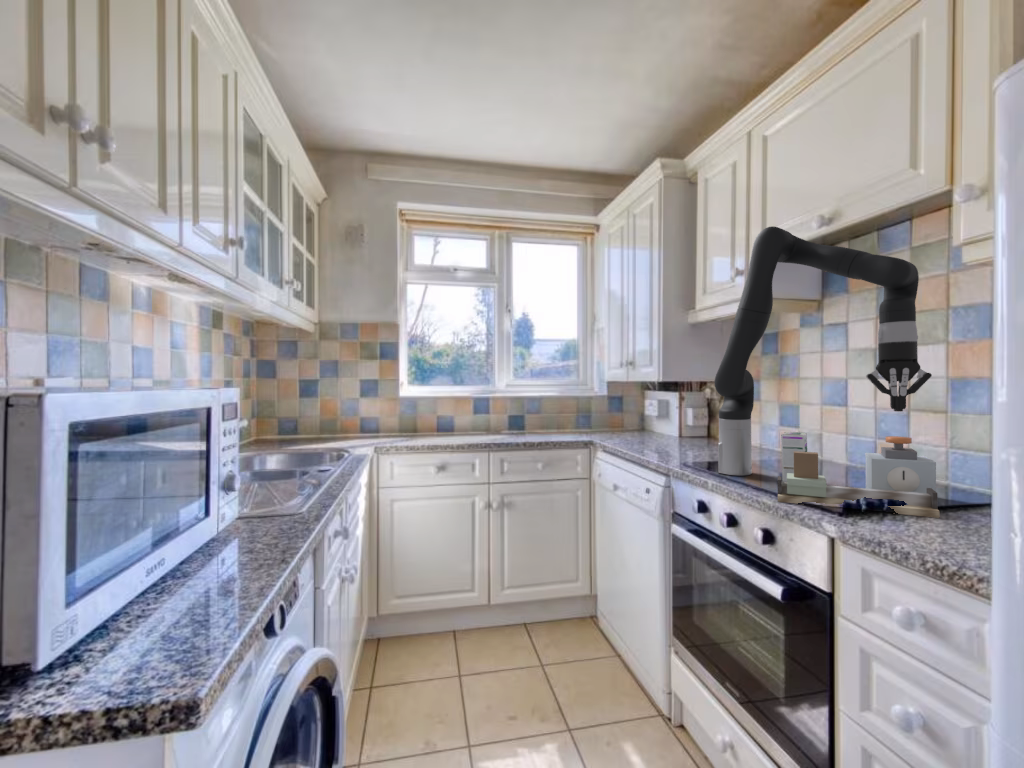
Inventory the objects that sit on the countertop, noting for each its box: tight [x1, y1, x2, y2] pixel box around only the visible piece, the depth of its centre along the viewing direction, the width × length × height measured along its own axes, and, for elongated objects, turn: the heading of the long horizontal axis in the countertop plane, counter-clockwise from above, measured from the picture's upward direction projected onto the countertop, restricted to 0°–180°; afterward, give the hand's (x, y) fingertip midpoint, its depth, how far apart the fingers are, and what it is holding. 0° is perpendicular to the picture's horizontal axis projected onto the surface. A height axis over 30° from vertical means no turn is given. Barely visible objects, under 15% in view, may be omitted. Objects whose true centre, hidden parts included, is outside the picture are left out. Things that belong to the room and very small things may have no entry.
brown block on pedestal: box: [787, 451, 827, 497], centre depth 116 cm, size 8×7×10 cm
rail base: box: [777, 475, 941, 519], centre depth 111 cm, size 30×8×5 cm, turn 60°
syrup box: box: [780, 431, 808, 482], centre depth 132 cm, size 6×6×14 cm
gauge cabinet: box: [864, 446, 937, 493], centre depth 117 cm, size 12×11×12 cm
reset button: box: [885, 435, 913, 450], centre depth 117 cm, size 5×5×3 cm
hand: (898, 411), depth 117 cm, fingers closed
